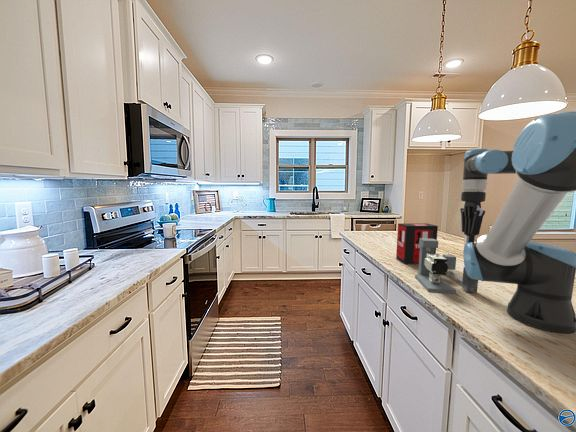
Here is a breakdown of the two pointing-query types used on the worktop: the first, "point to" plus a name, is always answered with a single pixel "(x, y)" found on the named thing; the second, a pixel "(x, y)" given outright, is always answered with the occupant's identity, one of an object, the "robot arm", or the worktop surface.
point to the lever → (465, 281)
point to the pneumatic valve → (435, 266)
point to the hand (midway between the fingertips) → (468, 251)
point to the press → (423, 272)
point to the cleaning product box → (413, 240)
